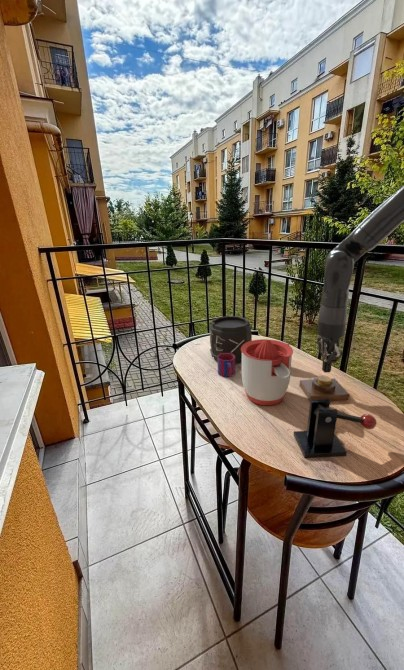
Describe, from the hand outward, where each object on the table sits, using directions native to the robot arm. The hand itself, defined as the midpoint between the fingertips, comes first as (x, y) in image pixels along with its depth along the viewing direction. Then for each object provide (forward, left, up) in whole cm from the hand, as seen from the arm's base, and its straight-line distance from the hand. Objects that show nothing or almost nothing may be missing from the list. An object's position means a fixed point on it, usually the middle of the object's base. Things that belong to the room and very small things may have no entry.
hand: (326, 371), depth 89 cm
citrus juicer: (+19, +1, -8) cm, 21 cm away
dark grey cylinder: (+27, -31, -8) cm, 42 cm away
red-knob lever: (+6, +23, -2) cm, 24 cm away
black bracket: (+11, +23, -8) cm, 27 cm away
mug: (+30, -15, -8) cm, 35 cm away
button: (0, 0, -4) cm, 4 cm away
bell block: (0, 0, -8) cm, 8 cm away
